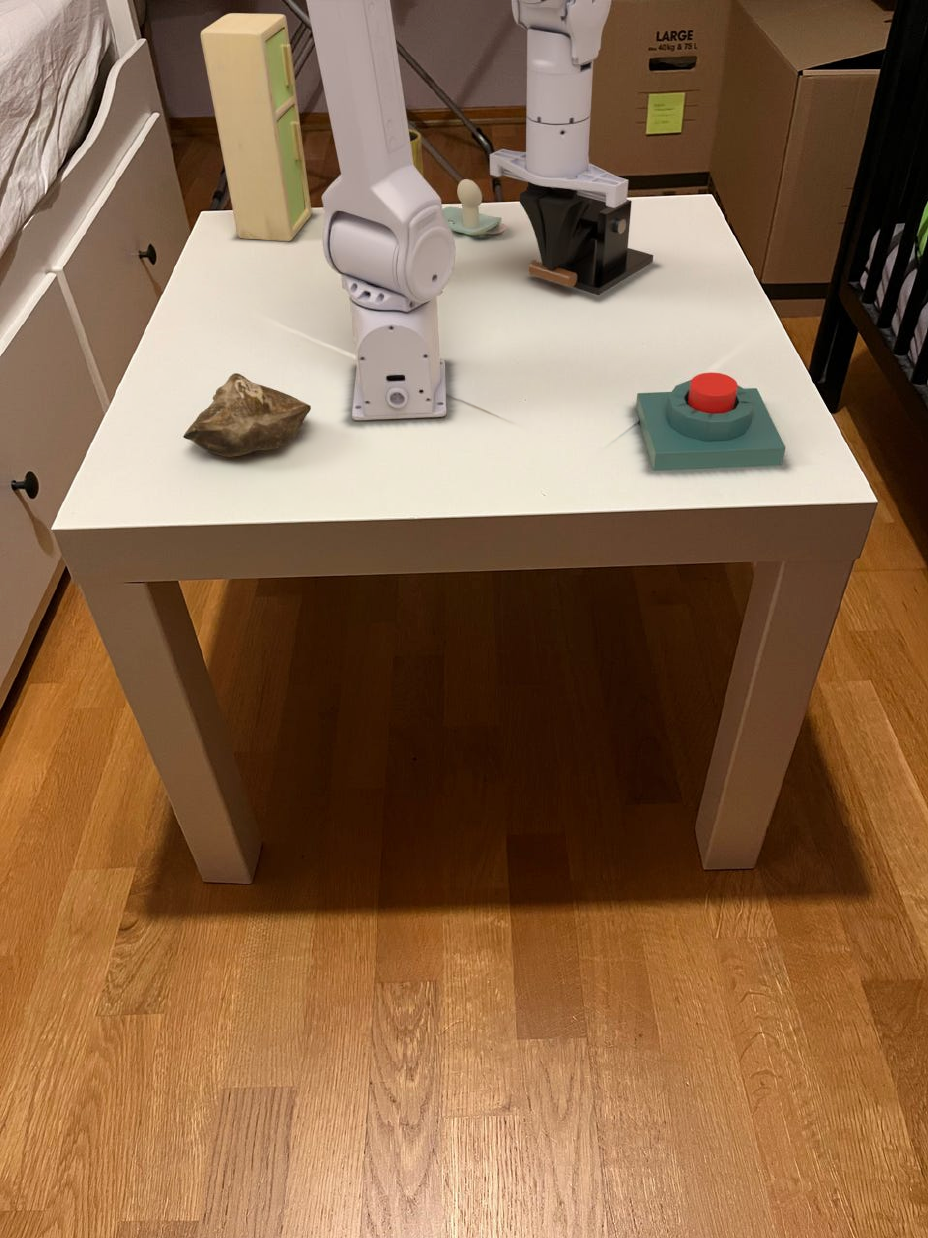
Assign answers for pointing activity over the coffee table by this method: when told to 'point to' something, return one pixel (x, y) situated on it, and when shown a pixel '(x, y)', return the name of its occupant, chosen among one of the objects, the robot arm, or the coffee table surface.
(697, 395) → the button
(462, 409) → the coffee table surface
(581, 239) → the lever
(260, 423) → the fossilized seashell
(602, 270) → the bracket
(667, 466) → the button block
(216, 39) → the toy refrigerator
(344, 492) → the coffee table surface
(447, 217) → the pacifier
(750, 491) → the coffee table surface
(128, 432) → the coffee table surface
